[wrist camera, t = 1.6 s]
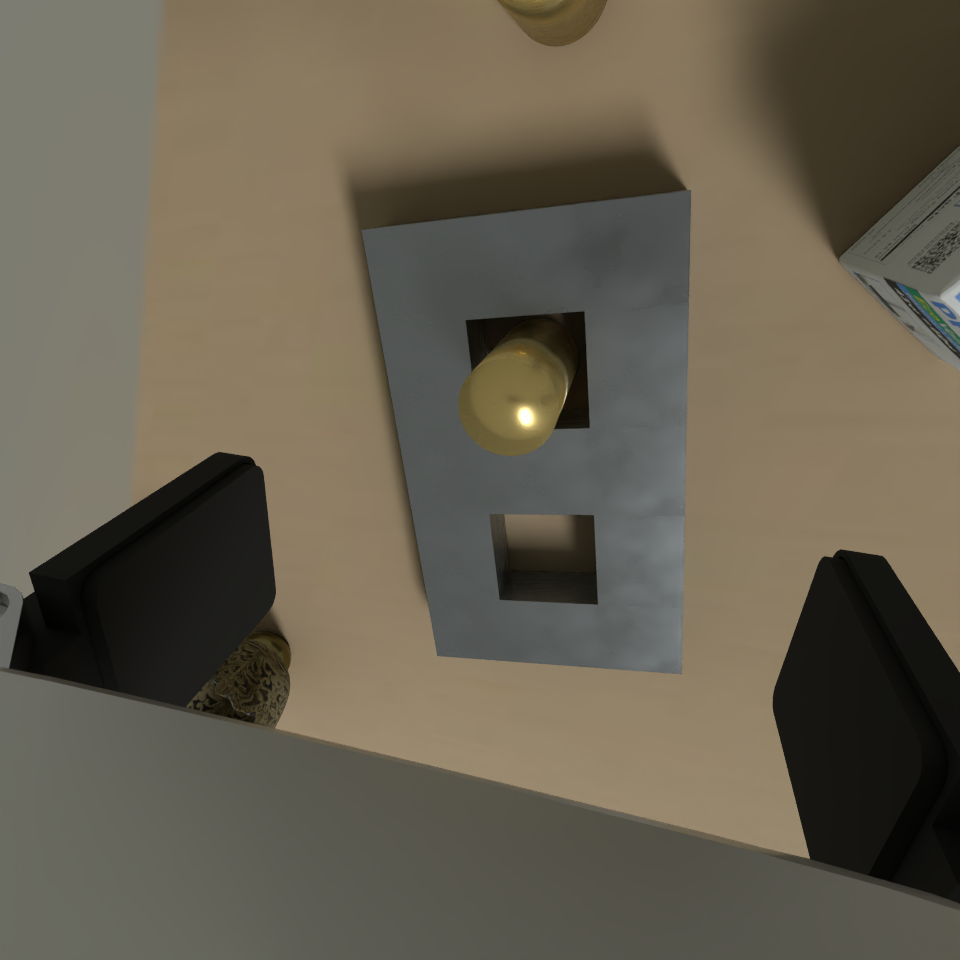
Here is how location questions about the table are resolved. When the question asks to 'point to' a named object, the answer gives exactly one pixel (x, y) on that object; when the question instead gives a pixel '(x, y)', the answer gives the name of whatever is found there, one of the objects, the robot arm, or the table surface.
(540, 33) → the brass cylinder
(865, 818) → the robot arm
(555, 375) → the seated bushing
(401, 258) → the jig
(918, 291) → the light bulb box
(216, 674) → the cup
